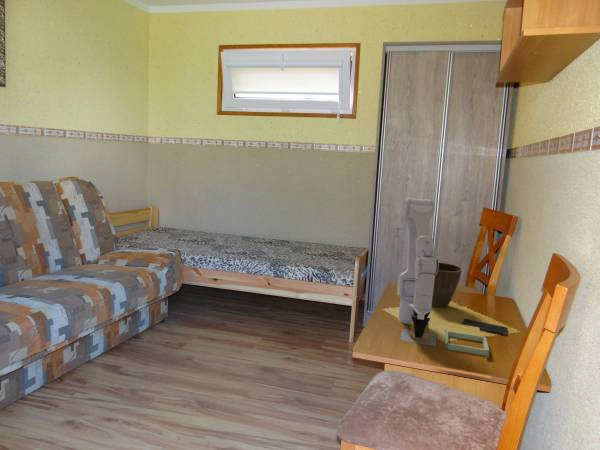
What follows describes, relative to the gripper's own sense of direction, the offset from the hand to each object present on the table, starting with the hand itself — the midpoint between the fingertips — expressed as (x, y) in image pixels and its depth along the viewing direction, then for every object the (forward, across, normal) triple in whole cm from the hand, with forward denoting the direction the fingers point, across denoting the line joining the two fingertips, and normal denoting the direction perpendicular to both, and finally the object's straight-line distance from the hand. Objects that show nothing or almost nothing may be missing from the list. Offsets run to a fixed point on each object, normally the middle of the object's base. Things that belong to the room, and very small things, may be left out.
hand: (418, 334), depth 159 cm
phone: (+2, -23, +22) cm, 32 cm away
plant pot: (+2, -43, +6) cm, 43 cm away
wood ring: (+1, 0, 0) cm, 1 cm away
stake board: (+2, 0, 0) cm, 2 cm away
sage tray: (+2, 0, +14) cm, 15 cm away
